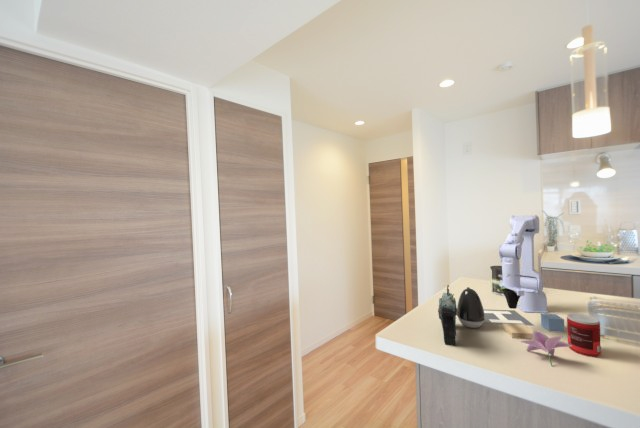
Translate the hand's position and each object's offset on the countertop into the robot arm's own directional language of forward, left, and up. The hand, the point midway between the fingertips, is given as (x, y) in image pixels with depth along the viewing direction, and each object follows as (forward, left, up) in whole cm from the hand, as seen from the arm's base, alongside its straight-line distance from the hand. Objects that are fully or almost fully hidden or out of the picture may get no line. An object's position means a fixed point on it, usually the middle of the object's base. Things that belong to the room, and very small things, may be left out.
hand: (512, 307), depth 104 cm
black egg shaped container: (+15, -1, -8) cm, 17 cm away
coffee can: (-15, -46, -8) cm, 49 cm away
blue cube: (-14, -1, -8) cm, 16 cm away
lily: (+1, +22, -8) cm, 23 cm away
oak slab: (0, +5, -8) cm, 10 cm away
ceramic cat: (+26, +9, -8) cm, 29 cm away
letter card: (0, -11, -8) cm, 14 cm away
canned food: (-14, +15, -8) cm, 22 cm away
